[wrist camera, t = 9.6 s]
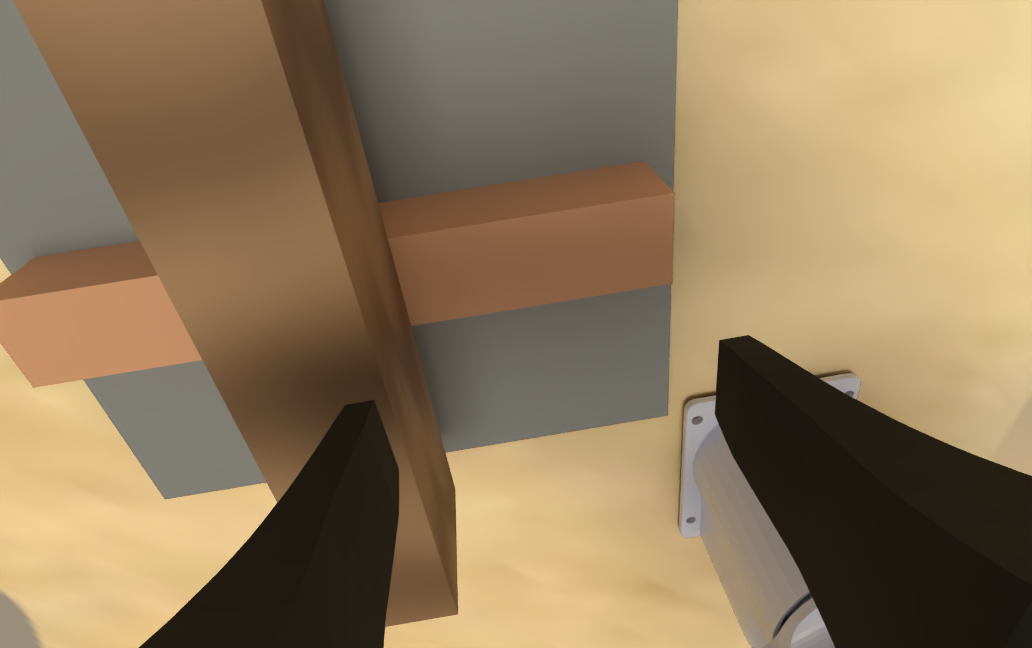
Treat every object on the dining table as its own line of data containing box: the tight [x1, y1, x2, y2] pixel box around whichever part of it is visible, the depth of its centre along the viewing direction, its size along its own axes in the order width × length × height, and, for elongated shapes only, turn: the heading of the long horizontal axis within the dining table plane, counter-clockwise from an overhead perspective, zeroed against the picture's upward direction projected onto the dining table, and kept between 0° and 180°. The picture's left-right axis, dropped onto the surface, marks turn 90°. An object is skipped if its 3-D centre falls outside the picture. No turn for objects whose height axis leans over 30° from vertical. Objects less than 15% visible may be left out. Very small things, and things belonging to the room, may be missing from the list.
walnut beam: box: [13, 0, 458, 627], centre depth 15 cm, size 18×4×5 cm, turn 7°
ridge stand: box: [0, 0, 678, 499], centre depth 19 cm, size 20×22×4 cm
